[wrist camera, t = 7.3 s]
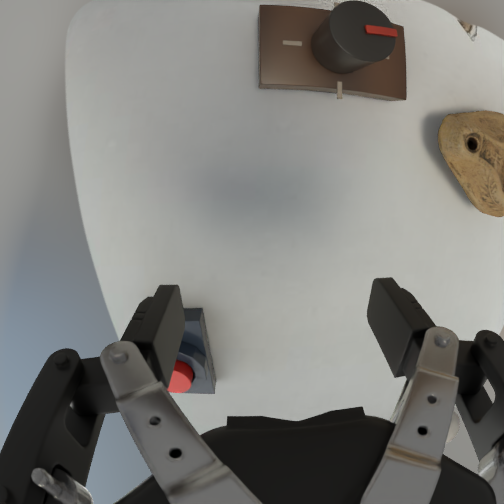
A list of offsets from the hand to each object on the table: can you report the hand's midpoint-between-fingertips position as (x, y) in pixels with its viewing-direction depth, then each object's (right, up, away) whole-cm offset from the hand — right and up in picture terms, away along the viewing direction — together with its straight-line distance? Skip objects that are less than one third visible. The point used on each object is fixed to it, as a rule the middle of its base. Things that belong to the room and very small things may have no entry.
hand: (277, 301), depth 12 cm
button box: (-9, -9, +22) cm, 25 cm away
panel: (+6, +19, +9) cm, 21 cm away
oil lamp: (+23, +12, +12) cm, 28 cm away
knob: (+6, +17, +6) cm, 19 cm away
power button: (-9, -11, +18) cm, 23 cm away
